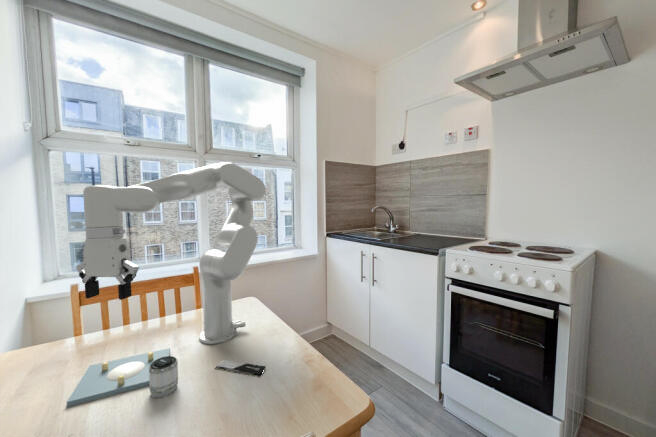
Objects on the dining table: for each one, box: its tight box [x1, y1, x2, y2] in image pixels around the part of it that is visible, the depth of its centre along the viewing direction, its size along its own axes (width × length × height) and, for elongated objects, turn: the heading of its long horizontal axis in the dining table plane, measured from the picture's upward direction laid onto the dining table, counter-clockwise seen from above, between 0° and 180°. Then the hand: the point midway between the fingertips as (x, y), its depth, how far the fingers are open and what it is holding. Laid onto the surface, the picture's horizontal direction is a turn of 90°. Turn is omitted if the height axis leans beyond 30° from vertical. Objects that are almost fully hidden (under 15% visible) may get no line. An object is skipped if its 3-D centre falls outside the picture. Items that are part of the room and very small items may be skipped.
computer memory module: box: [214, 359, 267, 378], centre depth 77 cm, size 15×1×4 cm
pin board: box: [66, 347, 171, 408], centre depth 74 cm, size 20×16×3 cm
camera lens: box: [148, 355, 179, 399], centre depth 68 cm, size 6×6×8 cm
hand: (108, 297), depth 70 cm, fingers open, 9 cm apart
